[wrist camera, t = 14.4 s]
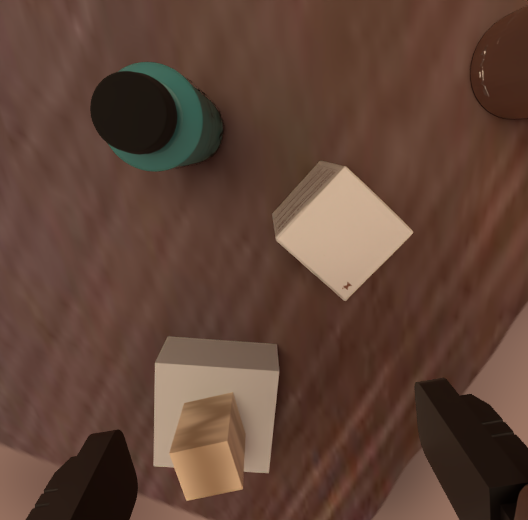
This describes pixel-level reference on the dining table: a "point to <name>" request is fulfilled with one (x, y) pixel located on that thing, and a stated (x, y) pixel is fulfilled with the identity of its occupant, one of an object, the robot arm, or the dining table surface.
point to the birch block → (209, 447)
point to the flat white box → (217, 390)
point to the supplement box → (338, 227)
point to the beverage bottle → (155, 118)
